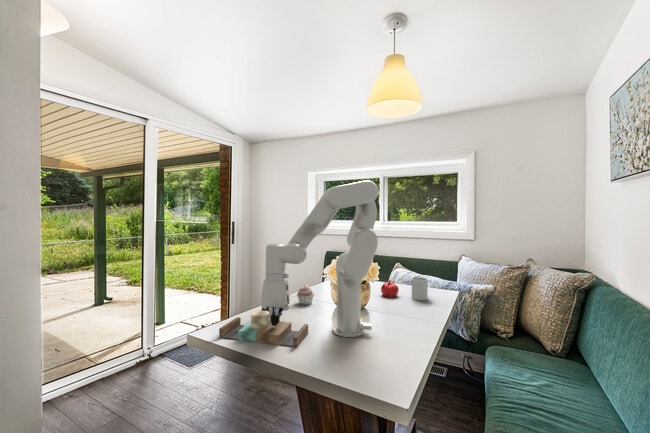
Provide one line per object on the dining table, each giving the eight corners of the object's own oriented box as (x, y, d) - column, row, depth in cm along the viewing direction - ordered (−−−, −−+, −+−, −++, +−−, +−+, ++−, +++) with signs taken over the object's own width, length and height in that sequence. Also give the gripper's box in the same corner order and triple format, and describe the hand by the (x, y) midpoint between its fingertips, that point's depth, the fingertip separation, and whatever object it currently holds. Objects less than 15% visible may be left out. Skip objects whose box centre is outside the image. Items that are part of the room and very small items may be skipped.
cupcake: (300, 300, 165) (300, 281, 164) (316, 301, 162) (316, 282, 162) (293, 305, 156) (293, 285, 155) (311, 306, 153) (311, 287, 153)
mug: (424, 301, 163) (424, 281, 163) (408, 298, 169) (409, 279, 168) (431, 297, 173) (432, 277, 173) (417, 294, 178) (417, 275, 178)
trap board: (308, 333, 120) (308, 324, 120) (297, 347, 107) (297, 337, 107) (237, 325, 127) (237, 317, 127) (219, 337, 115) (219, 328, 115)
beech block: (272, 324, 120) (272, 311, 120) (265, 329, 114) (265, 316, 114) (258, 322, 121) (258, 310, 121) (250, 328, 115) (251, 315, 115)
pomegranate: (401, 295, 175) (402, 279, 175) (392, 299, 168) (393, 282, 168) (386, 292, 182) (386, 276, 182) (377, 295, 174) (377, 279, 174)
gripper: (297, 275, 118) (296, 323, 118) (261, 273, 121) (261, 319, 121) (290, 279, 110) (290, 330, 111) (252, 277, 114) (252, 326, 114)
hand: (275, 324), depth 116 cm, fingers closed
